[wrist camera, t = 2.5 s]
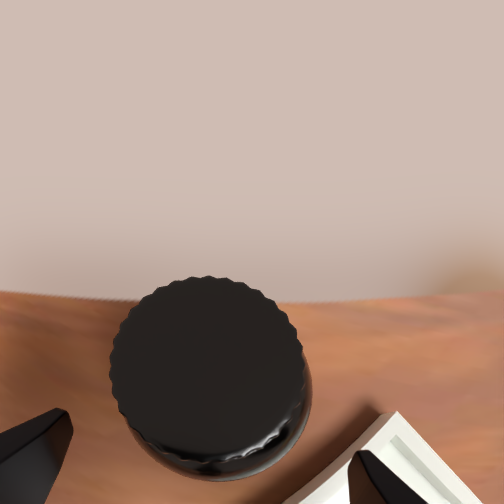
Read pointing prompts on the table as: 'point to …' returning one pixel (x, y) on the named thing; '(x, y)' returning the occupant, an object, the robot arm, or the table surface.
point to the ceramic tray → (390, 467)
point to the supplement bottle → (211, 379)
